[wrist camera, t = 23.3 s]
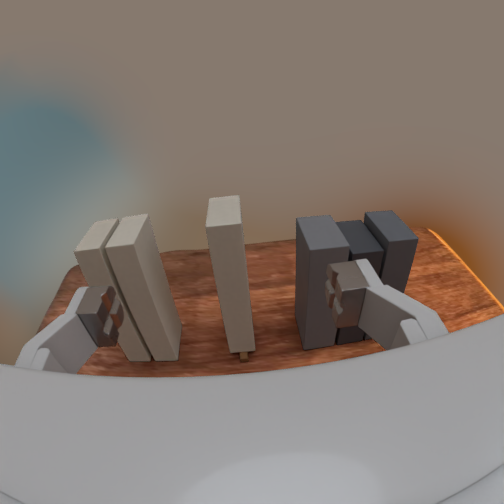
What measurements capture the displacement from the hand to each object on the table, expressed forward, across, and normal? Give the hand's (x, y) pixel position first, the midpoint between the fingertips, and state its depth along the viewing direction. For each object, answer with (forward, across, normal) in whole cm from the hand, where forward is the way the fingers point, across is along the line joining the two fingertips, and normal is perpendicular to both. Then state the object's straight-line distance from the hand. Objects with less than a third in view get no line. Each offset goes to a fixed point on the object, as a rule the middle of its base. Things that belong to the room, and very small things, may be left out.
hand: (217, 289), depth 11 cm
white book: (+12, 0, -17) cm, 21 cm away
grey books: (+12, +10, -17) cm, 23 cm away
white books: (+12, -6, -17) cm, 22 cm away
